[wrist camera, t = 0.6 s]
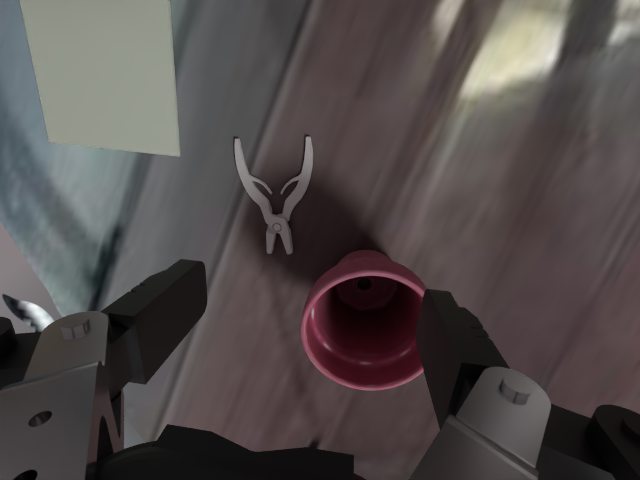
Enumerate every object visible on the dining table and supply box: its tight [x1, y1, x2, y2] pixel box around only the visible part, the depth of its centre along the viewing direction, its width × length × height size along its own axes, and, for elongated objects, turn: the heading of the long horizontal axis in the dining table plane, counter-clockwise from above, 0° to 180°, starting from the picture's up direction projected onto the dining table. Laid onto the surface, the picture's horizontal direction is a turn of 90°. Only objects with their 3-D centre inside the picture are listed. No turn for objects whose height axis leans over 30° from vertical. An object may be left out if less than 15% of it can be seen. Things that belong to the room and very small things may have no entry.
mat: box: [20, 0, 180, 156], centre depth 36 cm, size 18×18×1 cm
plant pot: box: [300, 250, 427, 390], centre depth 36 cm, size 14×14×13 cm
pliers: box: [235, 137, 313, 254], centre depth 39 cm, size 10×2×15 cm
